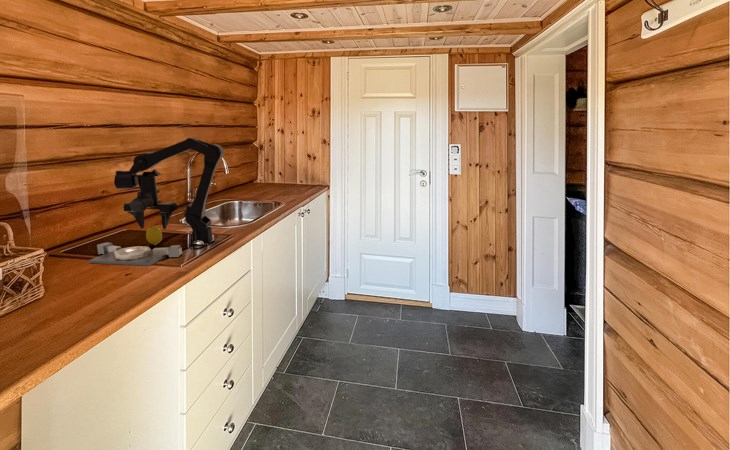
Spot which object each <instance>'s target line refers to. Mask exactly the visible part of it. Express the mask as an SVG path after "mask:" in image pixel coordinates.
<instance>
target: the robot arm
mask: <svg viewBox="0 0 730 450" xmlns="http://www.w3.org/2000/svg"><path fill="white" fill-rule="evenodd" d="M190 150H193V151H195V152H197V153H199V154H201V155H203V170H202V173H201V176H200V181H199V183H198V186H197V189H196V190H197V191H196V194H195V197H194V200H193V202H190V203H189V204H188V205H187V206H186V209H185V210H186V211H185V213H184V214H183V216H184V217H185V219H184V220H185V222H186V224H187V225H189V226H190V228H191V230H192V232H191V238H192V243H191V246H194V245H193V243H194V241H197V240H202V241H203V242H204V243H210V242H211V241H212V240H214V242H216V241H215V239H213V232H212V231H213V230H212V227H210V226H211V224H212V220H211V219H210V217H208V216H207V215H206V211H207V209H206V207H207V206H206V204H207V203H206V202H207V199H208V197H209V192H210V190H211V185H212V183H213V179H214V176H215V172H216V169H217V167H218V166H219V164H220V163H221V162H222V159H223V157H224V155H225V149H224V148H223V146H222V145H220V144H217V143H214V144H211V143H208V142H206V141H202V140H200V139H197V138H196V137H188V138H186V139H184V140H182V141H179V142H176V143H174V144H172V145H170V146H167V147H164V148H162V149H160V150H158V151H157V150H156V151H151V152H147V153H142V154H138V155H136V156H135V157H134V158H133V165H132V166H131V167H130V169H129V170H118V169H117V170H115V175H114V180H113V182H114V187H115V188H116V189H117V190H134V189H136V188H137V187H138V188H139V191H137V192H136V194H137V195H136V196H137V197H135V198H133V200H131V201H129V202H126V203H123V206H122V208H123V212H126V213H127V214H130V215H132V216H133V218H134V219H135V220H136V222H137V224H138V226H139V227H140V229H141V230H142V229H144V228H145V211H146V210H159V212H158V214H159V216H161V225H162V229H163V230H166V229H167V227H168V223H169V220H170V219H171V216H172V214H173V213H174V212H175V211H177V210H178V203H176V202H175V201H173V202H171V201H167V202H166V201H165V202H162V201H161V200H159V195H158V193H160V189H158V188H157V187H158V186H157V181H156V180H157V179H156V177H159V176H161V175H162V173H161V172H159V171H158V170H157V169H156V168H155V167H156V166H158V165H159V164H161V163H162V162H164V161H165V160H167V159H170V158H172V157H175V156H177V155H180V154H182V153H186V152H188V151H190ZM153 168H155V169H153ZM152 169H153V170H152ZM148 170H151V171H148ZM206 246H208V245H207V244H206Z"/></svg>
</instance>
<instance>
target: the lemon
mask: <svg viewBox="0 0 730 450" xmlns="http://www.w3.org/2000/svg"><path fill="white" fill-rule="evenodd" d="M145 238H146V241H147V242H148V243H149V244H151V245H153V246H157V245H158V244H160V243H161V242H162V240H163V233H162V230H161V229H160V227H158V226H155V225H151V226H149V227H148V228H147V229H146V233H145Z"/></svg>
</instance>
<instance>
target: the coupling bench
mask: <svg viewBox="0 0 730 450" xmlns="http://www.w3.org/2000/svg"><path fill="white" fill-rule="evenodd" d="M181 245H182V244H177V245H176V244H174V245H170V246H168V247H154V248H153V249H151V248H150V247H149V246H148V245H147V246H141V245H136V246H129V247H128V246H127V247H123V248H122V246H119V245H118V246H117V245H114V244H113V243H112V242H103V243H98V244H96V248H97V254H98V256H96V257H93V258H91V259H89V260H88V263H89V264H98V265H99V264H100V265H118V266H119V265H122V266H147V267H150V266H152V265H154V264H156V263H158V262H160V261H162V260H164V259H166V258H167V256H168V258H169V257H170V258H169V259H172V258H171V257H179V256H180V255H181V254H182V255H183V250H182V249H183V248H182V246H181ZM100 254H103V255H100ZM182 255H181V256H182ZM181 256H180V257H181ZM180 257H179V258H180ZM161 259H162V260H161ZM159 260H160V261H159ZM157 261H158V262H157ZM155 262H156V263H155Z"/></svg>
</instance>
